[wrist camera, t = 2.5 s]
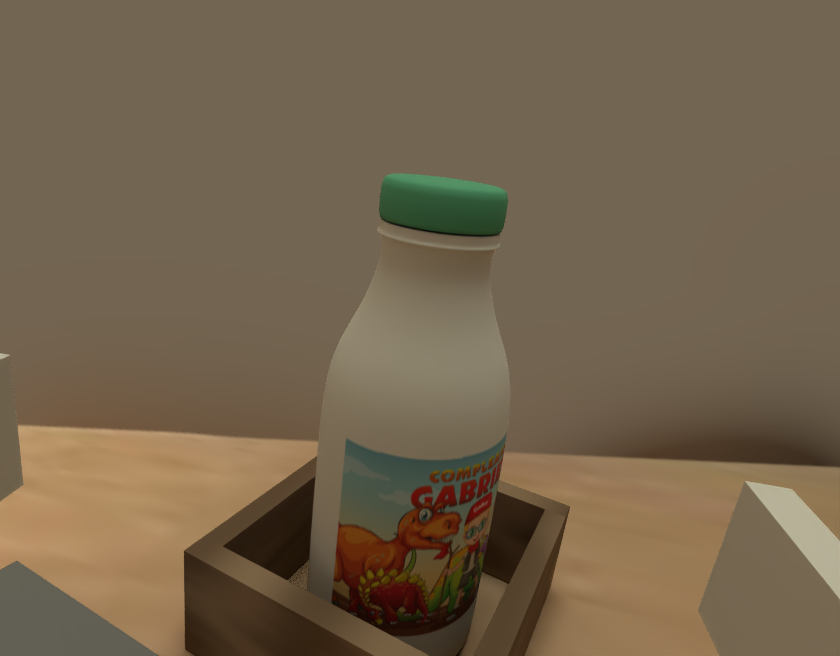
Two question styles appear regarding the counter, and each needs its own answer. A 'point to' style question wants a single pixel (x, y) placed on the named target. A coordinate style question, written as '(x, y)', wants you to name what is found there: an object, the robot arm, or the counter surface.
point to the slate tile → (54, 621)
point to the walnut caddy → (322, 621)
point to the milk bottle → (415, 421)
